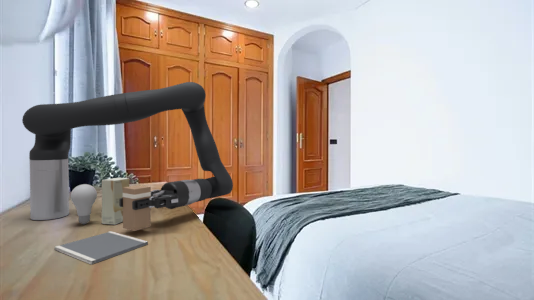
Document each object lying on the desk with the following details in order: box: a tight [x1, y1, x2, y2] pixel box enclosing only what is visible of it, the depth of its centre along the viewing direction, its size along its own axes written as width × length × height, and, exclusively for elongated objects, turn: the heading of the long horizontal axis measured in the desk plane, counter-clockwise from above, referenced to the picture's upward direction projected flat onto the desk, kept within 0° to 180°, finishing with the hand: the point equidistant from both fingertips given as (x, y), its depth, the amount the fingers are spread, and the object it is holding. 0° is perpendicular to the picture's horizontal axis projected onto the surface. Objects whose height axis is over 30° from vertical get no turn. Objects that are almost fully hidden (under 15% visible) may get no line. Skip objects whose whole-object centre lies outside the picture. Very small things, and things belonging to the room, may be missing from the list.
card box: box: [122, 184, 152, 232], centre depth 70 cm, size 5×5×10 cm
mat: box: [54, 231, 149, 265], centre depth 61 cm, size 14×12×1 cm
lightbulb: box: [69, 183, 98, 225], centre depth 77 cm, size 6×6×11 cm
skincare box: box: [101, 177, 130, 226], centre depth 80 cm, size 6×4×12 cm
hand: (126, 204), depth 68 cm, fingers closed on card box, 4 cm apart
